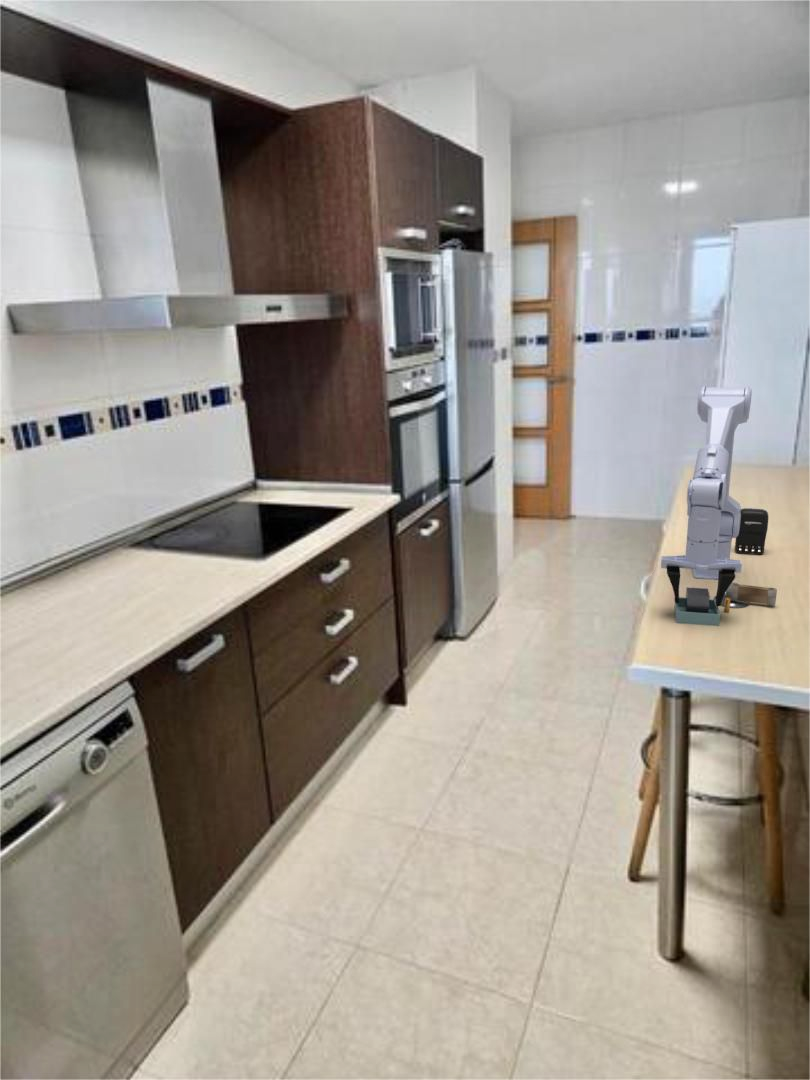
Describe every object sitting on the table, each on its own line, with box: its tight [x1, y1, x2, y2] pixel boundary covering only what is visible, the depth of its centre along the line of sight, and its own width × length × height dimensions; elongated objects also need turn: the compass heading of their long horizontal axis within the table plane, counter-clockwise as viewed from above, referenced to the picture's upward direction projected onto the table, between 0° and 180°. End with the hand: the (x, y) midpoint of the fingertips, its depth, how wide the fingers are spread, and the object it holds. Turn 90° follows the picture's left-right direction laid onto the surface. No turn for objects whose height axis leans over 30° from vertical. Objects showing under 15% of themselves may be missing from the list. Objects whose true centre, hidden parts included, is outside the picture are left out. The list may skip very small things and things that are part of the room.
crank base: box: [713, 593, 751, 614], centre depth 145 cm, size 10×7×3 cm
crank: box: [725, 581, 778, 606], centre depth 144 cm, size 9×2×3 cm, turn 62°
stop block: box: [685, 587, 711, 613], centre depth 140 cm, size 4×4×5 cm
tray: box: [674, 596, 721, 627], centre depth 140 cm, size 8×8×2 cm
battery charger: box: [734, 507, 769, 556], centre depth 172 cm, size 7×4×11 cm, turn 67°
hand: (697, 602), depth 140 cm, fingers open, 7 cm apart
